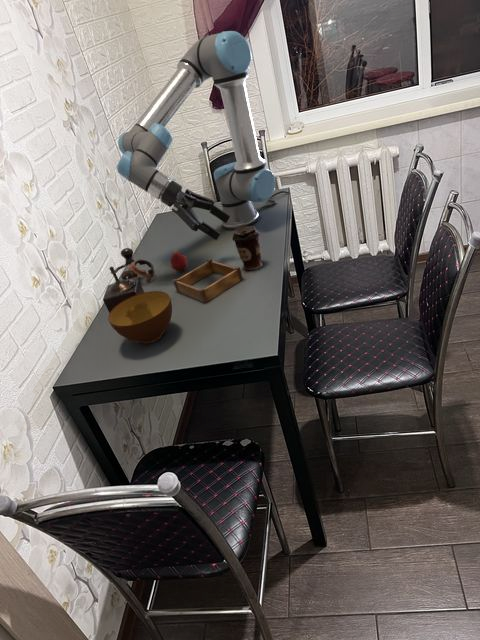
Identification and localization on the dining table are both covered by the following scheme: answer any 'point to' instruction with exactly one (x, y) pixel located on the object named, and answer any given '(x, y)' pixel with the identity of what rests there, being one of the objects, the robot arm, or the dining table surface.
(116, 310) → the bowl
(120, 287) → the manual coffee grinder
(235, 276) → the wooden frame
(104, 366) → the dining table surface
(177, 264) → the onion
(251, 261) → the coffee cup
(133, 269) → the pottery mug
